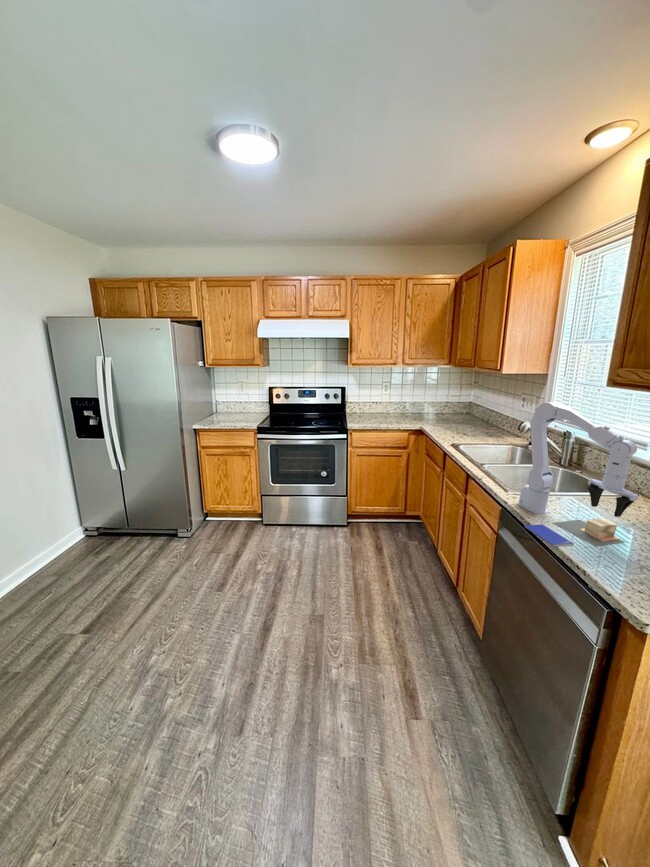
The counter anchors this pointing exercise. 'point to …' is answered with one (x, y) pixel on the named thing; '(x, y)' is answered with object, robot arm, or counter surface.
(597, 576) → the counter surface
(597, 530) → the maple block
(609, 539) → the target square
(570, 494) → the counter surface
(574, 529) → the rubber mat
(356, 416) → the counter surface
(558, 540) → the hard drive
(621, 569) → the counter surface
